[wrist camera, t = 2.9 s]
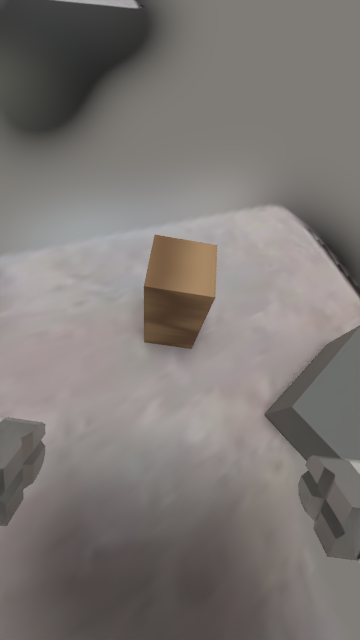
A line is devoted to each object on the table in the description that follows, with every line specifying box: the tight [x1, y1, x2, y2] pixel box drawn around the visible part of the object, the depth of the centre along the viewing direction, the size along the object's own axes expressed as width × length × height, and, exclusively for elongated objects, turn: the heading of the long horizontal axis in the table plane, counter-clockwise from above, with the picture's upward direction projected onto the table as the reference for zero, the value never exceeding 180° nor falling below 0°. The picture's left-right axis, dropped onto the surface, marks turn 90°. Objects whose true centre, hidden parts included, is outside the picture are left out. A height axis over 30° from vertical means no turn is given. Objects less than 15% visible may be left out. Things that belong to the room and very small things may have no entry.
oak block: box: [144, 235, 217, 349], centre depth 22 cm, size 5×5×10 cm
